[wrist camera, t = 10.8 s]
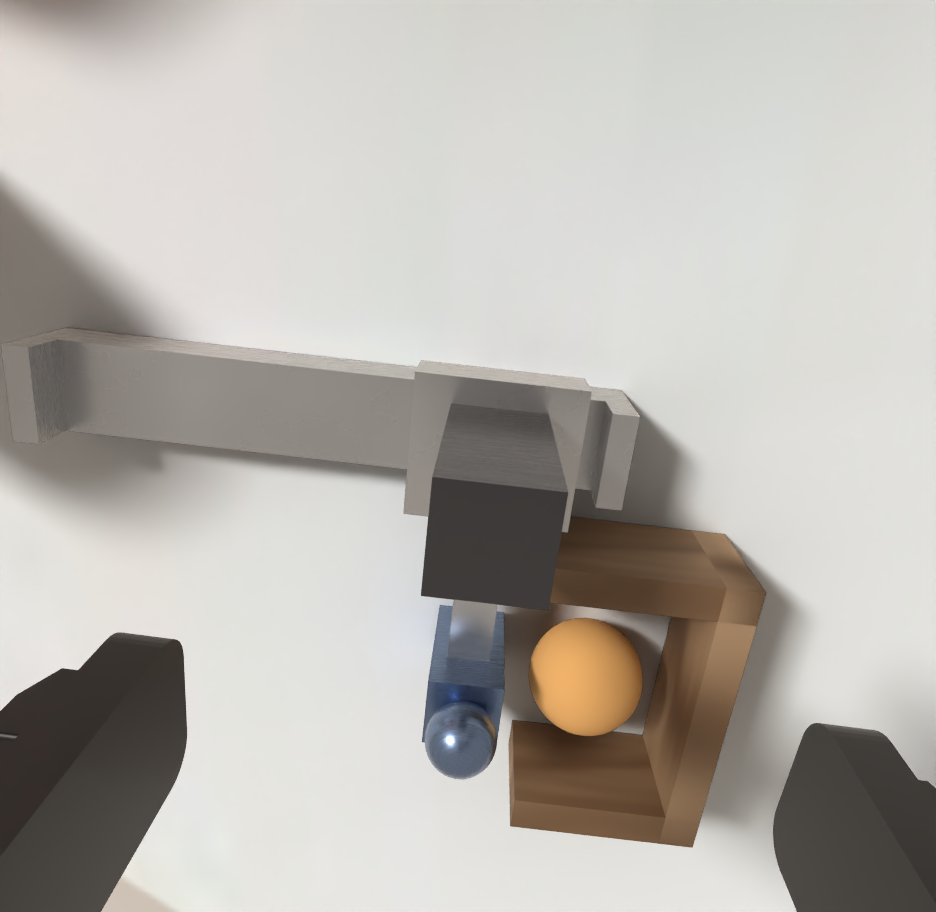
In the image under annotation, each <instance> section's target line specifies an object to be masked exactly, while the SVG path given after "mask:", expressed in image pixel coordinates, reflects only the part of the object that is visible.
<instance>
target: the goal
mask: <svg viewBox="0 0 936 912" xmlns="http://www.w3.org/2000/svg"><path fill="white" fill-rule="evenodd" d="M765 596H766V591H765V590H764V589H763V587H762V586H761V584H760V583H759V582H758V580H757V579H756V577H755V576H754V574H753V573H752V572H751V570H750V569H749V567H748V566H747V565H746V563H745V562H744V560H743V559H742V558H741V556H740V555H739V553H738V552H737V551H736V549H735V548H734V546H733V545H732V544H731V542H730V541H729V539H728V538H727V537H726V535H725V534H717V533H709V532H700V531H691V530H682V529H673V528H665V527H656V526H647V525H638V524H630V523H621V522H612V521H603V520H595V519H586V518H577V517H570V522H569V528H568V532H562V534H561V540H560V546H559V551H558V557H557V563H556V569H555V575H554V581H553V587H552V593H551V599H550V603H558V604H567V605H575V606H584V607H593V608H601V609H610V610H619V611H627V612H636V613H645V614H654V615H662V616H671V619H670V623H669V627H668V632H667V636H666V640H665V644H664V648H663V653H662V657H661V661H660V665H659V669H658V673H657V678H656V682H655V686H654V690H653V694H652V699H651V703H650V707H649V711H648V715H647V719H646V724H645V728H644V732H643V735H636V734H627V733H619V732H608V733H605V734H602V735H596V736H582V735H576V734H572V733H569V732H567V731H565V730H563V729H561V728H559V727H557V726H556V725H550V724H541V723H532V722H524V721H515V720H512V726H511V732H510V739H509V786H510V826H513V827H521V828H530V829H538V830H547V831H556V832H564V833H573V834H581V835H590V836H598V837H607V838H616V839H624V840H633V841H641V842H650V843H658V844H667V845H676V846H684V847H693V844H694V840H695V837H696V834H697V830H698V827H699V823H700V820H701V816H702V813H703V809H704V806H705V803H706V799H707V796H708V792H709V789H710V785H711V782H712V778H713V775H714V772H715V768H716V765H717V761H718V758H719V754H720V751H721V747H722V744H723V740H724V737H725V734H726V730H727V727H728V723H729V720H730V716H731V713H732V709H733V706H734V703H735V699H736V696H737V692H738V689H739V685H740V682H741V678H742V675H743V672H744V668H745V665H746V661H747V658H748V654H749V651H750V647H751V644H752V640H753V637H754V634H755V630H756V627H757V623H758V620H759V616H760V613H761V609H762V606H763V603H764V599H765Z"/></svg>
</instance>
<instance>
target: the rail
mask: <svg viewBox="0 0 936 912" xmlns="http://www.w3.org/2000/svg"><path fill="white" fill-rule="evenodd" d="M1 351H2V359H3V366H4V374H5V382H6V390H7V398H8V406H9V414H10V421H11V429H12V437H13V441H15V442H24V443H33V444H40V443H42V442H44V441H46V440H48V439H50V438H52V437H54V436H56V435H58V434H60V433H62V432H64V431H74V432H83V433H91V434H100V435H109V436H118V437H127V438H135V439H144V440H153V441H162V442H170V443H179V444H188V445H197V446H206V447H214V448H223V449H232V450H241V451H249V452H258V453H267V454H276V455H285V456H293V457H302V458H311V459H320V460H329V461H337V462H346V463H355V464H364V465H372V466H381V467H390V468H399V469H407V464H408V452H409V439H410V427H411V414H412V402H413V389H414V377H415V370H416V369H417V367H411V366H402V365H393V364H384V363H375V362H366V361H358V360H349V359H340V358H331V357H322V356H313V355H305V354H296V353H287V352H278V351H269V350H260V349H251V348H243V347H234V346H225V345H216V344H207V343H198V342H189V341H181V340H172V339H163V338H154V337H145V336H136V335H128V334H119V333H110V332H101V331H92V330H83V329H74V328H63V329H59V330H55V331H51V332H47V333H43V334H40V335H36V336H32V337H28V338H24V339H20V340H16V341H12V342H8V343H4V344H1ZM590 389H591V391H592V394H591V399H590V405H589V411H588V417H587V423H586V429H585V435H584V440H583V446H582V452H581V458H580V464H579V470H578V475H577V481H576V487H575V489H583V490H590V492H591V495H592V498H593V501H594V504H595V507H596V508H603V509H612V510H621V511H622V506H623V501H624V496H625V491H626V486H627V481H628V476H629V471H630V466H631V461H632V456H633V451H634V446H635V441H636V436H637V431H638V426H639V421H640V416H639V414H638V413H637V412H636V410H635V409H634V407H633V406H632V404H631V403H630V402H629V400H628V399H627V397H626V396H625V395H624V393H623V392H622V390H614V389H605V388H597V387H590Z"/></svg>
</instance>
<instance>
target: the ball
mask: <svg viewBox="0 0 936 912" xmlns="http://www.w3.org/2000/svg"><path fill="white" fill-rule="evenodd" d="M529 682H530V688H531V692H532V695H533V697H534V700H535V702H536V704H537V705H538V707H539V709H540V710H541V712H542V713H543V714H544V715H545V716H546V717H547V718H548V719H549V720H550V721H551V722H552V723H553V724H554V725H556V726H557V727H559V728H561V729H563V730H565V731H567V732H569V733H572V734H576V735H582V736H596V735H602V734H605V733H608V732H611V731H613V730H614V729H616V728H618V727H619V726H621V725H622V724H623V723H624V722H625V721H626V720H628V718H629V717H630V716H631V715H632V713H633V712H634V710H635V709H636V707H637V705H638V702H639V700H640V696H641V692H642V686H643V675H642V667H641V664H640V660H639V658H638V655H637V653H636V651H635V649H634V648H633V646H632V644H631V643H630V642H629V640H628V639H627V638H626V637H625V636H624V635H623V634H622V633H621V632H620V631H618V630H617V629H616V628H614V627H613V626H611V625H609V624H607V623H605V622H602V621H599V620H595V619H590V618H576V619H570V620H567V621H564V622H561V623H559V624H557V625H556V626H554V627H552V628H551V629H550V630H549V631H547V632H546V633H545V634H544V635H543V636H542V638H541V639H540V640H539V642H538V643H537V645H536V647H535V649H534V651H533V653H532V657H531V660H530V665H529Z"/></svg>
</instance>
